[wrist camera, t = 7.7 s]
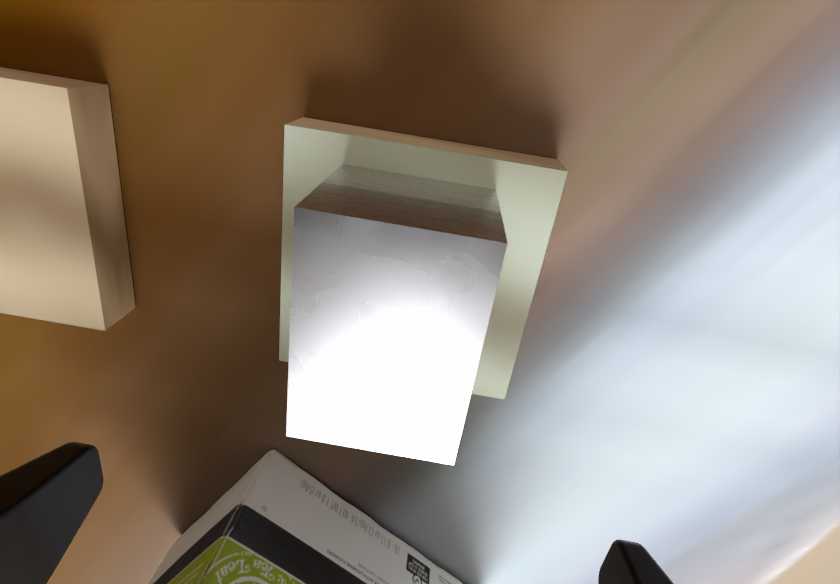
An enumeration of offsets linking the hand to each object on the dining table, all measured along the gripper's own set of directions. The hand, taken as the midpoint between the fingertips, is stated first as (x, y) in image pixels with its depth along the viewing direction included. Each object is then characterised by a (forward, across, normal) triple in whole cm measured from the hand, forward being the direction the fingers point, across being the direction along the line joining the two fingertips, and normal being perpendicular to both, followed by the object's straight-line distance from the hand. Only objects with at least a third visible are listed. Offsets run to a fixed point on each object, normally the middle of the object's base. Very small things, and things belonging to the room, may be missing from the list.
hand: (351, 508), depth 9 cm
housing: (+10, 0, 0) cm, 10 cm away
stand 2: (+12, 0, 0) cm, 12 cm away
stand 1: (+12, +16, 0) cm, 20 cm away
